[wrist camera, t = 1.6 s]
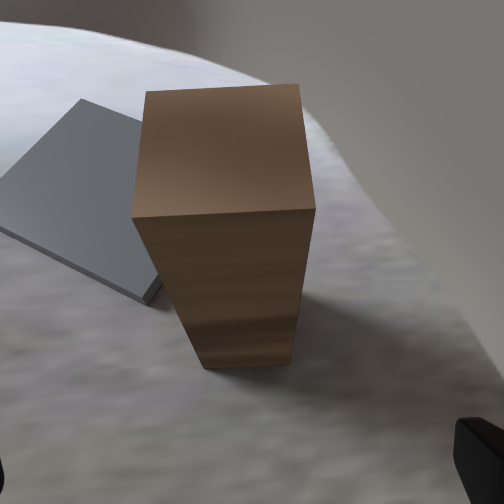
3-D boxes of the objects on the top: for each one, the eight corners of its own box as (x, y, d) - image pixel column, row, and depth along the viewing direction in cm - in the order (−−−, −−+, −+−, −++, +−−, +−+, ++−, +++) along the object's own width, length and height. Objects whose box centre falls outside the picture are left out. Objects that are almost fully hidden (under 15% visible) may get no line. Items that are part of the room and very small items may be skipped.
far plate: (239, 170, 29) (238, 158, 28) (147, 306, 25) (141, 297, 24) (87, 111, 33) (81, 98, 32) (-21, 220, 28) (-32, 209, 27)
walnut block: (289, 364, 23) (315, 208, 11) (203, 369, 23) (131, 217, 11) (283, 286, 25) (298, 83, 13) (204, 290, 25) (145, 91, 13)
